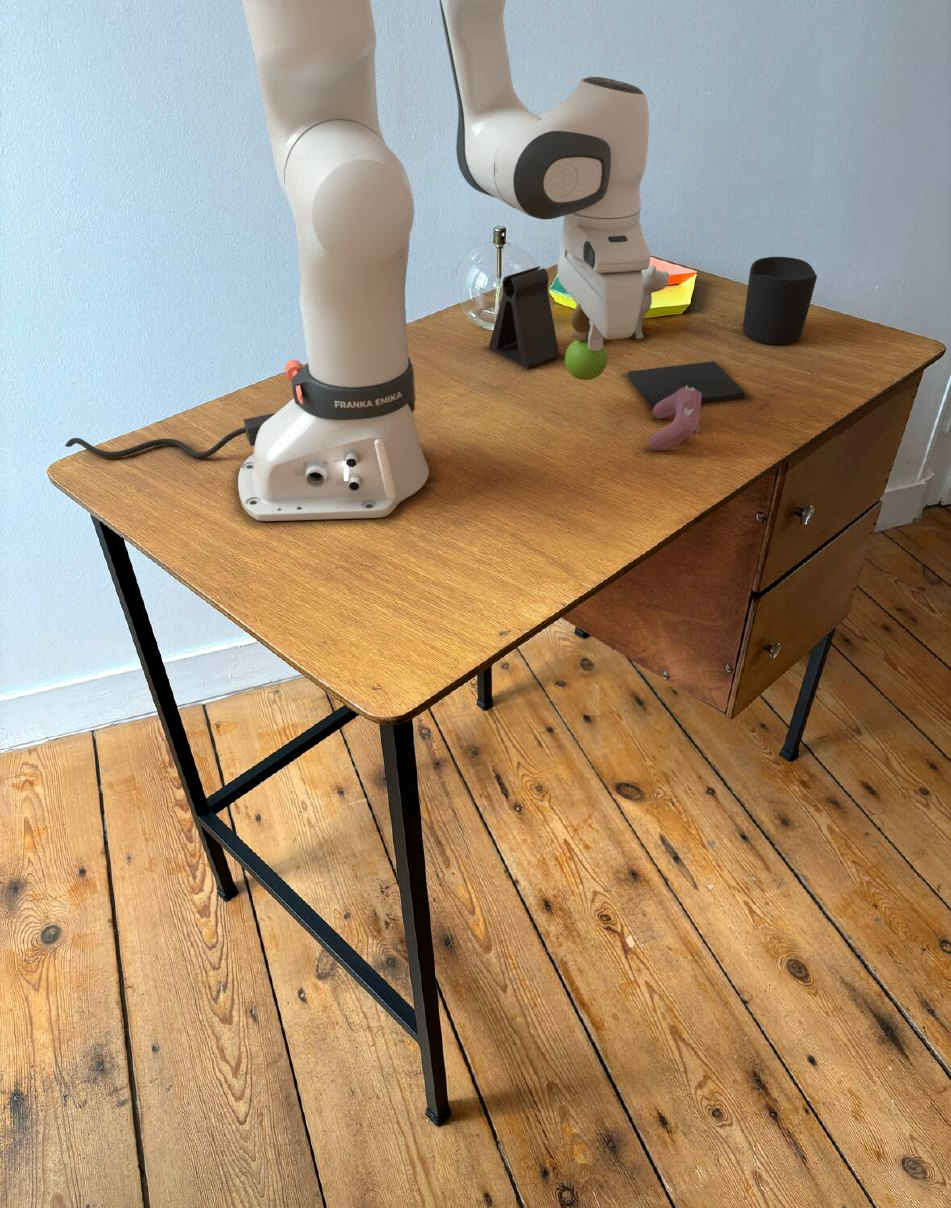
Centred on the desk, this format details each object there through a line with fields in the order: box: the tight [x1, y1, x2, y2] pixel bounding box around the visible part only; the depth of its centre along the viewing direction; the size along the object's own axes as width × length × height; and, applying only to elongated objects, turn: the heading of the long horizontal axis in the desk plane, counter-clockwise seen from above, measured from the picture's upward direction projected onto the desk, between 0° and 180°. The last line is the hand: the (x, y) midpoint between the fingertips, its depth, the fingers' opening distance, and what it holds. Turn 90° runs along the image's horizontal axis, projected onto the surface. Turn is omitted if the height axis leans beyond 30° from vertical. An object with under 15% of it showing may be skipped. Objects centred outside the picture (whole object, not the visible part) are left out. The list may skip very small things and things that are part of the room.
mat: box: [627, 360, 746, 409], centre depth 131 cm, size 13×10×1 cm
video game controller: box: [648, 385, 702, 452], centre depth 120 cm, size 10×5×7 cm, turn 168°
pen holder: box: [742, 256, 818, 346], centre depth 141 cm, size 9×9×10 cm
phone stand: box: [488, 265, 560, 369], centre depth 137 cm, size 9×6×12 cm, turn 37°
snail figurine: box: [564, 304, 609, 381], centre depth 121 cm, size 5×6×12 cm
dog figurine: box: [634, 265, 670, 340], centre depth 142 cm, size 5×13×11 cm, turn 106°
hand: (589, 343), depth 122 cm, fingers closed on snail figurine
